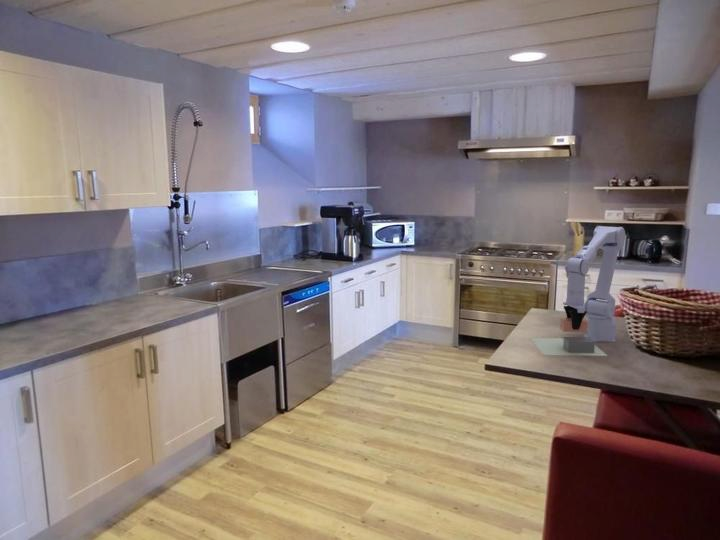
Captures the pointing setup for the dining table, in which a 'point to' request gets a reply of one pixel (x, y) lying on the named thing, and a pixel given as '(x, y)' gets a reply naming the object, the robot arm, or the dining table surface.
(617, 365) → the dining table surface
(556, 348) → the baseplate
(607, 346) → the dining table surface
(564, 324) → the terracotta brick
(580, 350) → the grey base brick
